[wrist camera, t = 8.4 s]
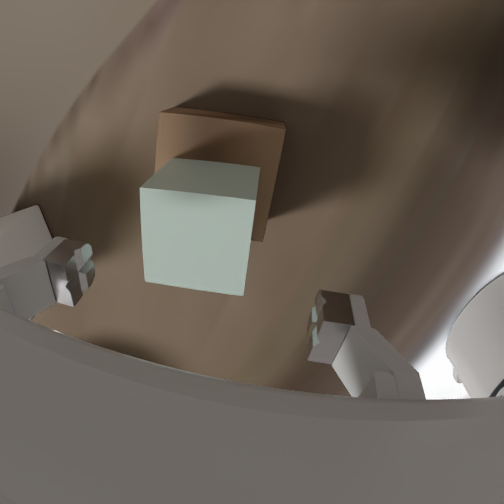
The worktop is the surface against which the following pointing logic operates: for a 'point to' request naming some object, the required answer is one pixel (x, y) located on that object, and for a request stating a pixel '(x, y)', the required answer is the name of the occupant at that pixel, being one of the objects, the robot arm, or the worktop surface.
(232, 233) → the cube
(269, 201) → the block
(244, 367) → the worktop surface
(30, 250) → the medicine bottle
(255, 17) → the worktop surface
